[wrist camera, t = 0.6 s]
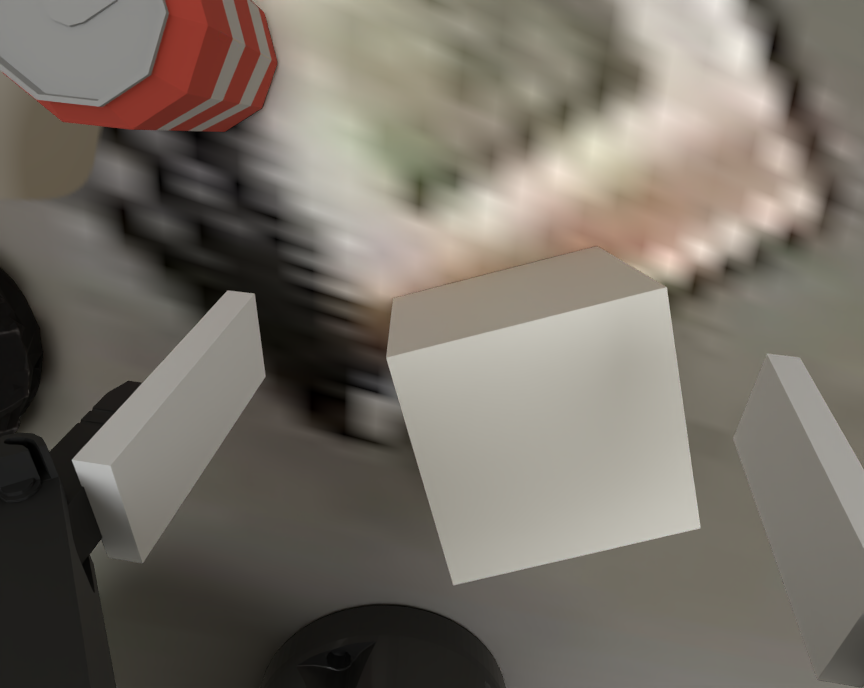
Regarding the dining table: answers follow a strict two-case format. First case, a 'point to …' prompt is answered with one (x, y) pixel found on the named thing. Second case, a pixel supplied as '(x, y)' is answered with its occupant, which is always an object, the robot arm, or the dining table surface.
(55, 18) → the beverage can
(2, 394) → the container
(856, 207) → the dining table surface
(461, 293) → the plain off-white cube
